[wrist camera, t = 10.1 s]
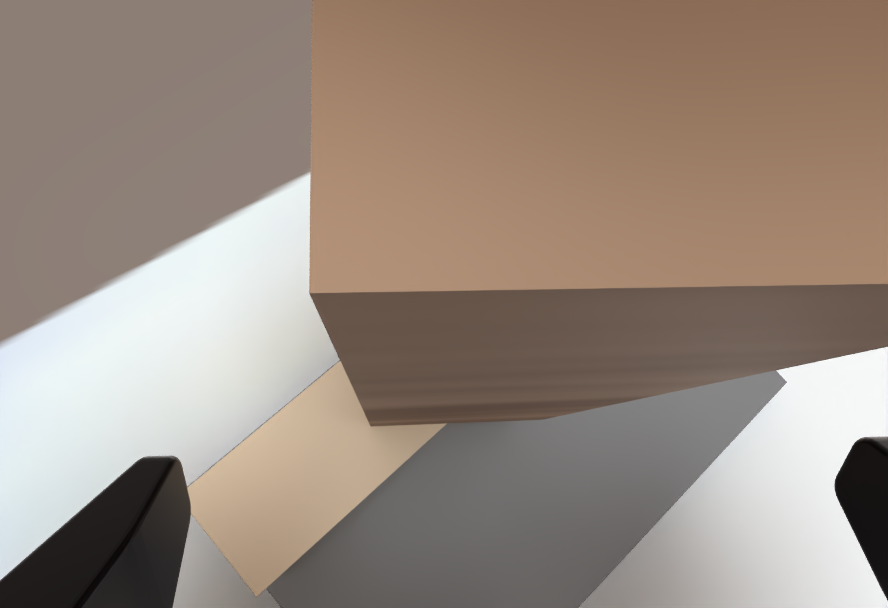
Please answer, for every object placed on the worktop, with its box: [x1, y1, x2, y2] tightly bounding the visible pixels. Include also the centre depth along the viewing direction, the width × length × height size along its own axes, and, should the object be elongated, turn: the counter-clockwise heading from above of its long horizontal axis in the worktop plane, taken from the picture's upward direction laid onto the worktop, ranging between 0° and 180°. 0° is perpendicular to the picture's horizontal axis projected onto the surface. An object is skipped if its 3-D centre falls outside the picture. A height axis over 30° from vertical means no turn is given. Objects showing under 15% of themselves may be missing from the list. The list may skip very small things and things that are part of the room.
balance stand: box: [187, 360, 787, 608], centre depth 17 cm, size 10×16×4 cm, turn 132°
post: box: [309, 0, 888, 426], centre depth 10 cm, size 4×4×13 cm
